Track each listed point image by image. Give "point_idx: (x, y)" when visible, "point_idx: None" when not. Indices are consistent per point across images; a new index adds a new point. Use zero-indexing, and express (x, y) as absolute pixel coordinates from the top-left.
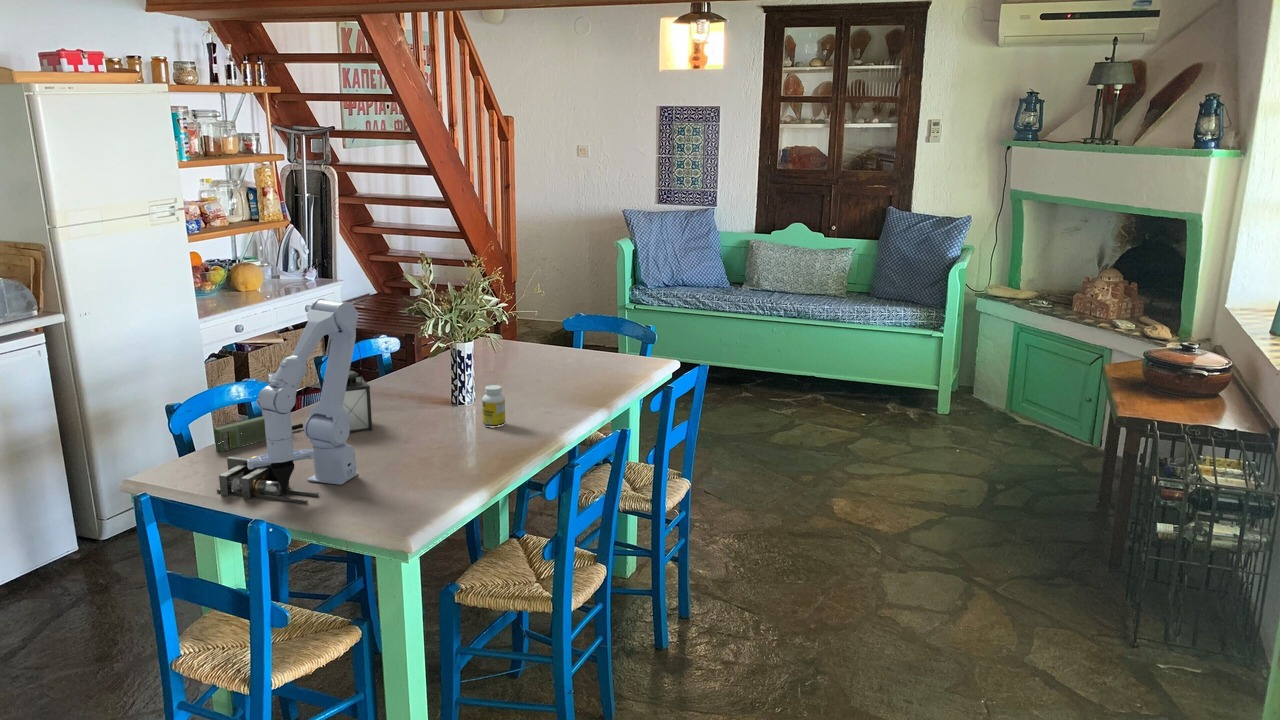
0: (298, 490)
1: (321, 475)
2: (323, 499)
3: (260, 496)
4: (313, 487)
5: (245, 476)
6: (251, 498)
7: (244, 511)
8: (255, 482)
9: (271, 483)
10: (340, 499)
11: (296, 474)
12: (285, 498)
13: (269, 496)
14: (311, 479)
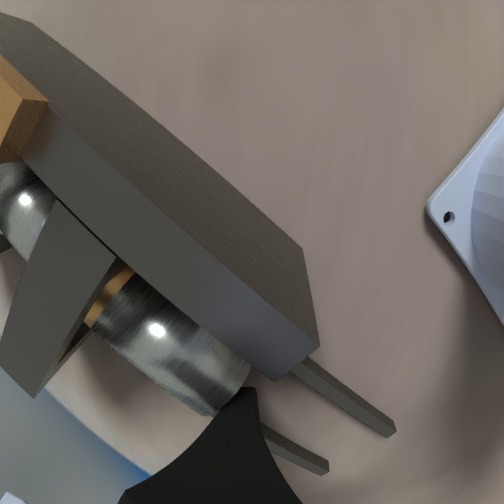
0: (327, 385)
1: (499, 283)
2: (392, 447)
3: None
4: (419, 317)
5: (5, 351)
6: None
7: (97, 423)
8: None
9: (169, 389)
10: (435, 454)
11: (376, 35)
12: None
13: None
14: (446, 229)
